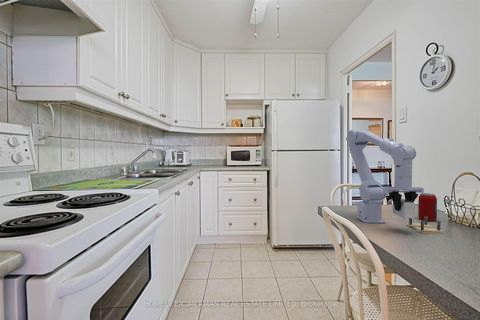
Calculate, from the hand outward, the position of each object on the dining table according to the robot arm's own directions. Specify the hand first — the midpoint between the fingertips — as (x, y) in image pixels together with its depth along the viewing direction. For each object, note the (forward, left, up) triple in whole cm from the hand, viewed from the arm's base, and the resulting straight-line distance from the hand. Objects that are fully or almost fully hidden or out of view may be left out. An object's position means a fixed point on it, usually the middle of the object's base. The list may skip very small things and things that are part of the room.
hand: (402, 210), depth 93 cm
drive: (0, 0, -2) cm, 2 cm away
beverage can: (+21, +17, -8) cm, 28 cm away
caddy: (+10, +2, -8) cm, 13 cm away
